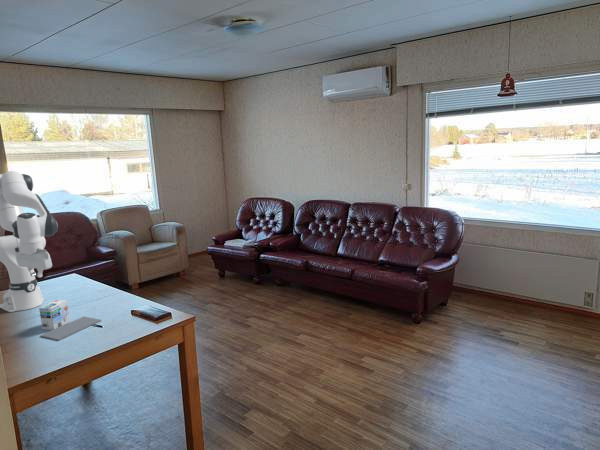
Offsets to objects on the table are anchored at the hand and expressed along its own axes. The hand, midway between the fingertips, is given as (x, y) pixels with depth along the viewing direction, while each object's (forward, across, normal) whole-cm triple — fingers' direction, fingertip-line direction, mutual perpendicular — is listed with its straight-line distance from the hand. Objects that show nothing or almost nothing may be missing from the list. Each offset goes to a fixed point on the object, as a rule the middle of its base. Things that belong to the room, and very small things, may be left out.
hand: (36, 276), depth 198 cm
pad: (+23, -20, 0) cm, 30 cm away
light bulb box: (+23, -9, 0) cm, 25 cm away
